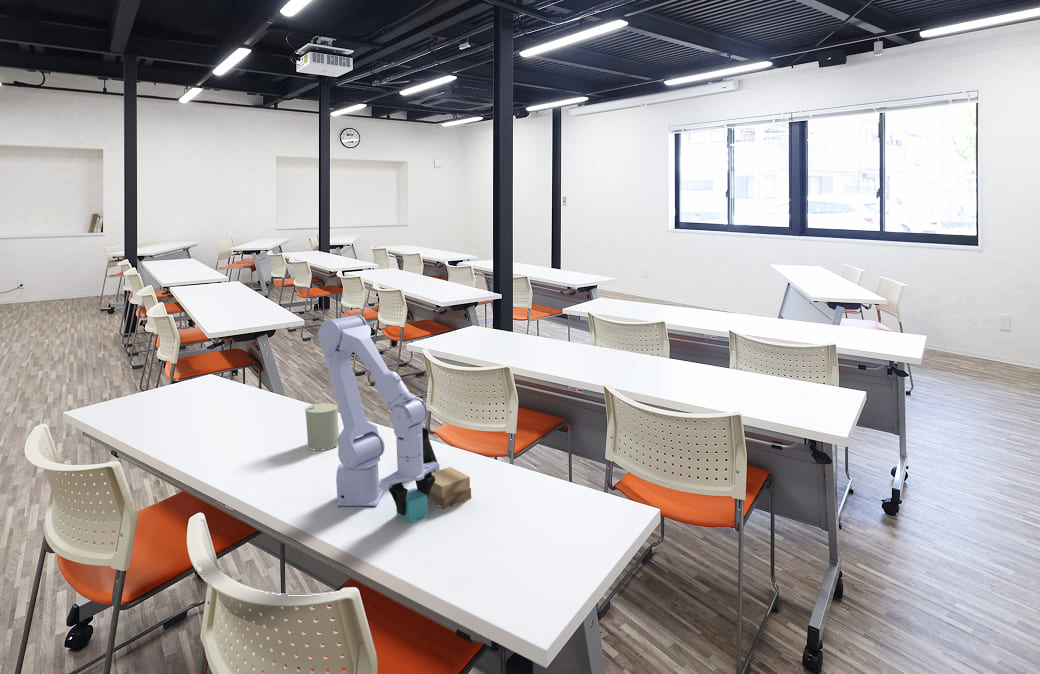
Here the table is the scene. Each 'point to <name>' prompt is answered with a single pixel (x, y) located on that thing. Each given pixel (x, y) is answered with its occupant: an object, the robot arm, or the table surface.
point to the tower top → (449, 482)
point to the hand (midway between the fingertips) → (412, 509)
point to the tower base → (450, 498)
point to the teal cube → (415, 505)
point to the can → (322, 425)
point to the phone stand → (427, 448)
